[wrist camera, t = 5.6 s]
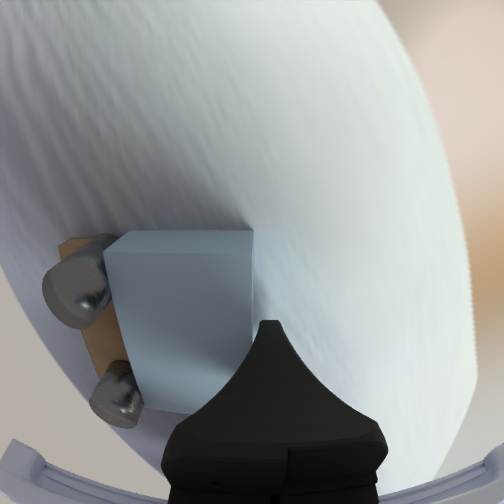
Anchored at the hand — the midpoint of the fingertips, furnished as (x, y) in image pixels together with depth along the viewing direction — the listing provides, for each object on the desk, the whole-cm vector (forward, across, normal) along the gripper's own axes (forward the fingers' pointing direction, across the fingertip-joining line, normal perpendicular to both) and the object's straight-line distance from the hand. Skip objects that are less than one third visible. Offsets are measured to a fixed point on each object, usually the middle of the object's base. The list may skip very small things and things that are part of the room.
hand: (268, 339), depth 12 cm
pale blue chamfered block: (+1, +3, 0) cm, 3 cm away
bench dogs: (+1, +7, 0) cm, 7 cm away
